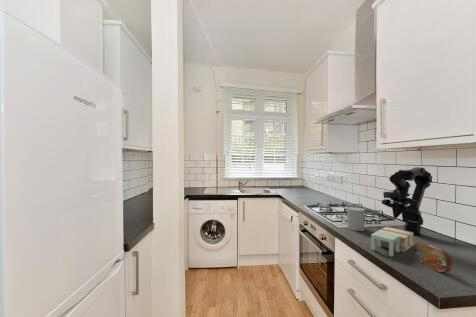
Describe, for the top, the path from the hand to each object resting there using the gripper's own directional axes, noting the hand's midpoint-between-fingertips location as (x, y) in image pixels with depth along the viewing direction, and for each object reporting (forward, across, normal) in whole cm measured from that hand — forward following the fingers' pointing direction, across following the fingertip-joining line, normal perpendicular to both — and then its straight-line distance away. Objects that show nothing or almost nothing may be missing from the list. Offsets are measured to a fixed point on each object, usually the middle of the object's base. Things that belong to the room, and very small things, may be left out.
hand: (395, 217), depth 120 cm
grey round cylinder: (+10, -24, -4) cm, 26 cm away
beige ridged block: (+14, +2, +1) cm, 14 cm away
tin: (+20, +24, +1) cm, 31 cm away
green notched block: (+14, +7, -6) cm, 17 cm away
